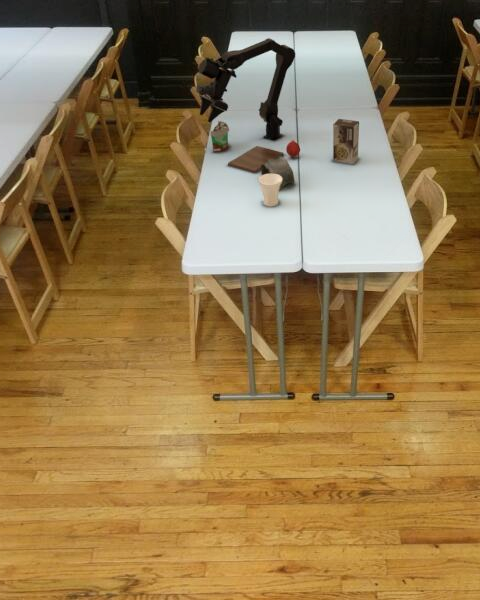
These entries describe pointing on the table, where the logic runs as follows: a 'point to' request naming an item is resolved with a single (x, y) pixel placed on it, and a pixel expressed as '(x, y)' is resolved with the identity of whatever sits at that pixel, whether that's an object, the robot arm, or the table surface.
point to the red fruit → (293, 149)
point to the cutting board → (254, 159)
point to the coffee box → (345, 141)
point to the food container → (220, 137)
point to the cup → (270, 188)
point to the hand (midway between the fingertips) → (204, 118)
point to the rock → (278, 169)
